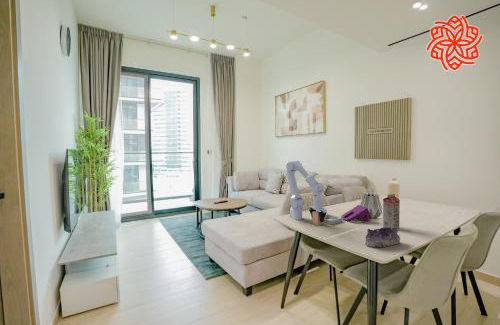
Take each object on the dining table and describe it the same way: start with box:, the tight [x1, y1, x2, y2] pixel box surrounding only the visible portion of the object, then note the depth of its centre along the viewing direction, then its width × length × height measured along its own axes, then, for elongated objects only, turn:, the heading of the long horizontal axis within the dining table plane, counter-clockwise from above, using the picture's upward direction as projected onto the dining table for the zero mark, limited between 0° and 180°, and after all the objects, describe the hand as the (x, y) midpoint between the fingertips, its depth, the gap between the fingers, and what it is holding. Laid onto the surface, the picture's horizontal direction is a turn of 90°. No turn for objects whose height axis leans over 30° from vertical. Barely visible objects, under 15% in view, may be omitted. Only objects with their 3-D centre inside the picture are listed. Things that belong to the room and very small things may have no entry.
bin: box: [323, 213, 343, 226], centre depth 168 cm, size 13×12×4 cm
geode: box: [364, 226, 401, 249], centre depth 129 cm, size 20×12×10 cm, turn 113°
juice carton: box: [382, 193, 401, 230], centre depth 154 cm, size 7×7×22 cm
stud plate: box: [309, 221, 327, 227], centre depth 163 cm, size 9×9×4 cm
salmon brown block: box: [311, 210, 324, 225], centre depth 163 cm, size 5×5×8 cm
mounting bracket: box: [340, 204, 371, 223], centre depth 171 cm, size 10×9×19 cm
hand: (317, 220), depth 163 cm, fingers open, 7 cm apart
